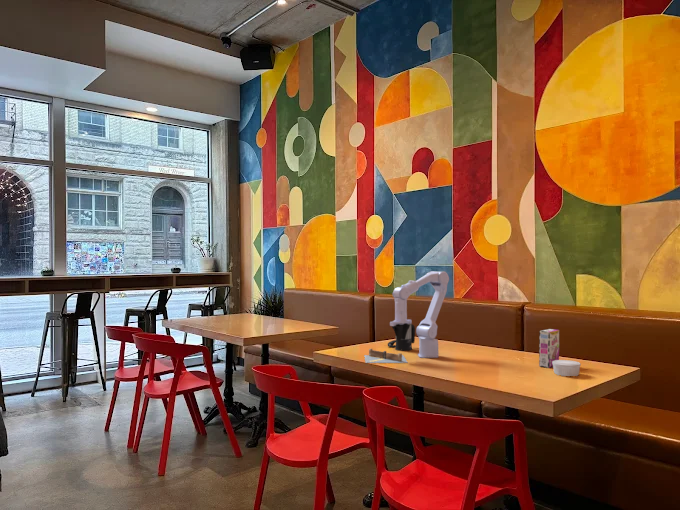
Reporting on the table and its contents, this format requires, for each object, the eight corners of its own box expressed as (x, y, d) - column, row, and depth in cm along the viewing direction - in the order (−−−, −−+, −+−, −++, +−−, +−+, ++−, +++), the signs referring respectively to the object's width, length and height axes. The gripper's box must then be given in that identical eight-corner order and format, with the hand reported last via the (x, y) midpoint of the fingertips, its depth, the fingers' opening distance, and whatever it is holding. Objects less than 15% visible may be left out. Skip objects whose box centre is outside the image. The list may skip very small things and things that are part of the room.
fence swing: (385, 358, 254) (385, 351, 254) (388, 358, 255) (388, 351, 255) (400, 361, 247) (400, 354, 247) (402, 360, 249) (402, 353, 249)
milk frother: (409, 351, 276) (408, 323, 276) (381, 349, 283) (381, 322, 283) (416, 347, 289) (416, 320, 289) (390, 345, 296) (390, 319, 296)
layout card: (403, 355, 264) (403, 355, 264) (407, 363, 245) (407, 362, 245) (364, 355, 264) (364, 355, 264) (365, 363, 245) (365, 362, 245)
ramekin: (564, 378, 213) (564, 365, 213) (546, 372, 224) (546, 360, 224) (586, 376, 216) (586, 364, 216) (568, 371, 227) (567, 359, 227)
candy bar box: (549, 368, 233) (549, 331, 233) (538, 366, 236) (538, 330, 236) (560, 364, 240) (559, 329, 241) (549, 363, 244) (549, 328, 244)
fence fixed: (370, 355, 263) (370, 348, 263) (387, 358, 256) (387, 351, 256) (368, 356, 262) (368, 348, 262) (384, 359, 254) (384, 351, 254)
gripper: (403, 310, 261) (403, 337, 261) (385, 312, 251) (385, 340, 251) (414, 311, 256) (415, 338, 256) (396, 313, 246) (396, 341, 246)
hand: (401, 339), depth 253 cm, fingers open, 3 cm apart
